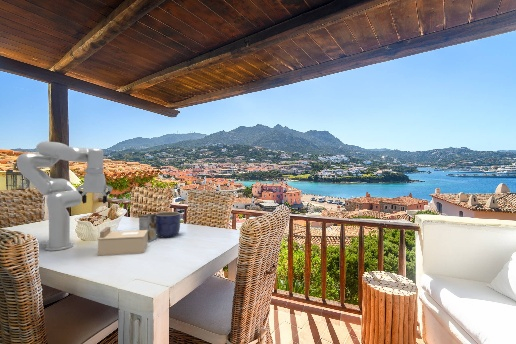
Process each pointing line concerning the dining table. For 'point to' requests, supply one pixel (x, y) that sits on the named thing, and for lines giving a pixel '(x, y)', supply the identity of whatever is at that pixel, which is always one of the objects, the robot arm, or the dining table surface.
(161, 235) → the planter
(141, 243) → the box
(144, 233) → the lid
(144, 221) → the coffee box
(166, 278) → the dining table surface
